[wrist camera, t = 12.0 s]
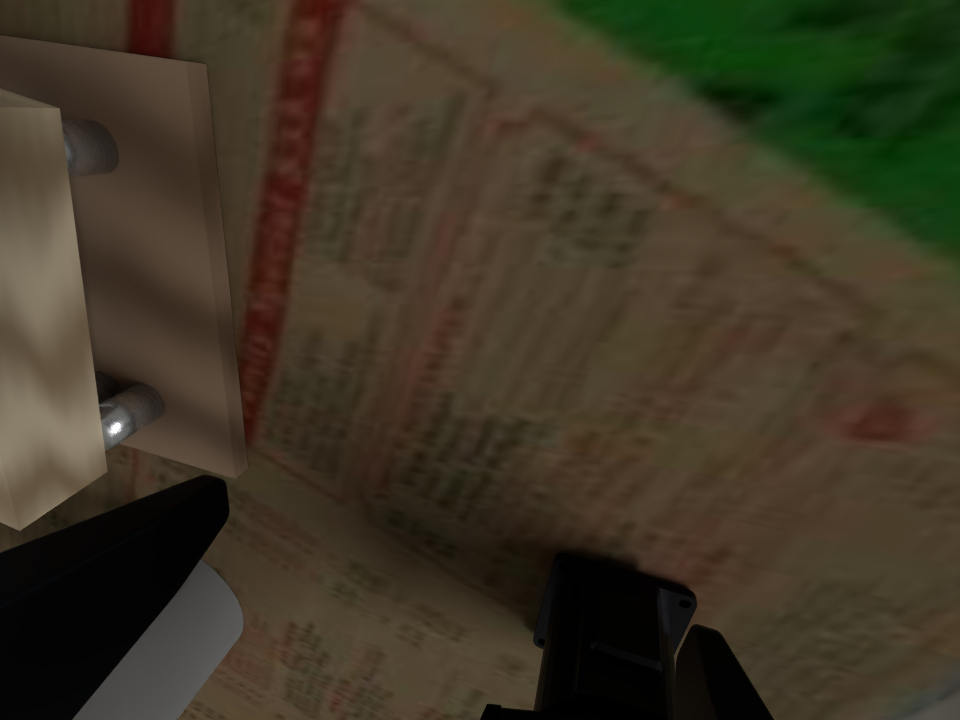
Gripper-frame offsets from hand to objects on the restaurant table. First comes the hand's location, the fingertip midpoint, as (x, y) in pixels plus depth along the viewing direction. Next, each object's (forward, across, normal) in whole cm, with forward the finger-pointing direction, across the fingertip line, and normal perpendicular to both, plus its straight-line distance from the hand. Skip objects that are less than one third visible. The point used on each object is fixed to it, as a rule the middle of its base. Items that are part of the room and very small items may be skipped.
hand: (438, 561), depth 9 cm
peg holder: (+12, +20, +2) cm, 23 cm away
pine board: (+8, +20, +2) cm, 22 cm away
